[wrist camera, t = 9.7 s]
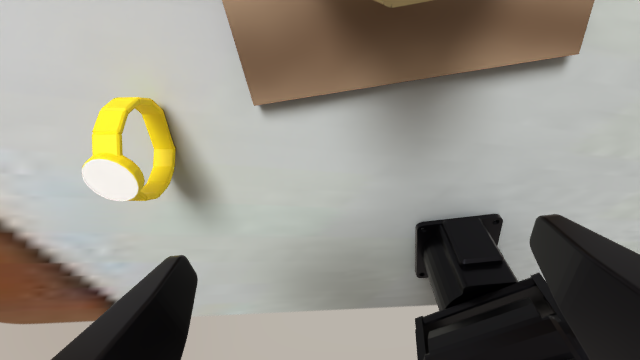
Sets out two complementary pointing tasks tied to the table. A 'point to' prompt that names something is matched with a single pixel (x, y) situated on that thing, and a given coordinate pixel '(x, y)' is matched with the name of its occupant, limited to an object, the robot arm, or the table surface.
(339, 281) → the table surface
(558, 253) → the robot arm
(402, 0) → the socket collar
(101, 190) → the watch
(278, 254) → the table surface
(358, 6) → the socket base
